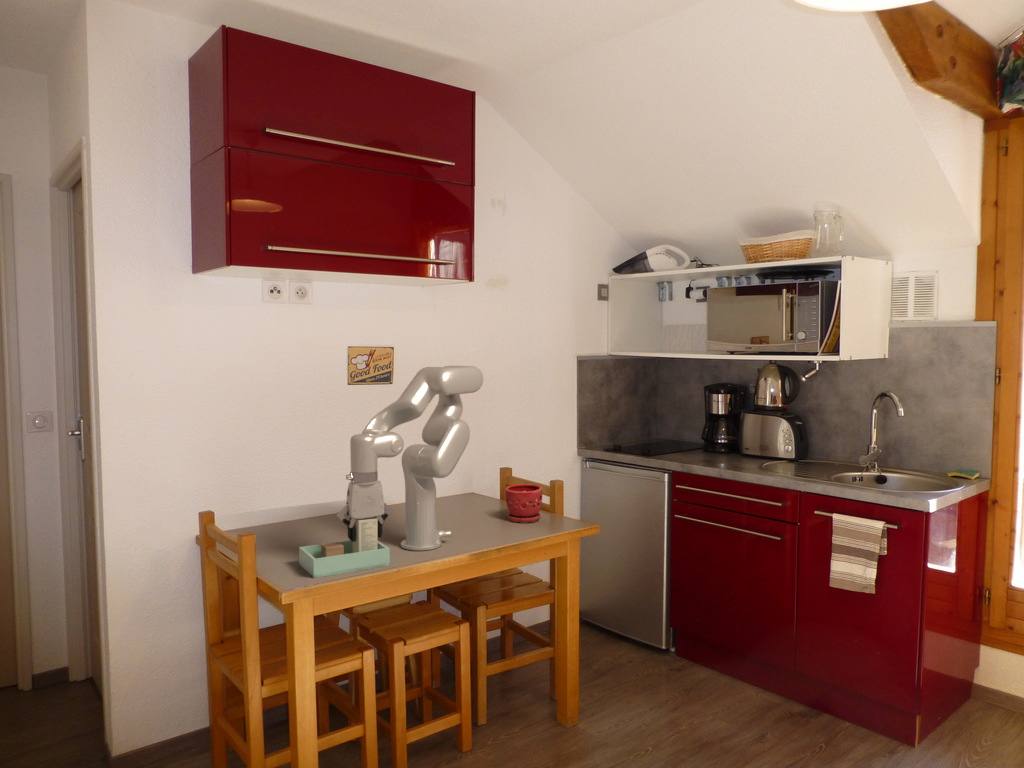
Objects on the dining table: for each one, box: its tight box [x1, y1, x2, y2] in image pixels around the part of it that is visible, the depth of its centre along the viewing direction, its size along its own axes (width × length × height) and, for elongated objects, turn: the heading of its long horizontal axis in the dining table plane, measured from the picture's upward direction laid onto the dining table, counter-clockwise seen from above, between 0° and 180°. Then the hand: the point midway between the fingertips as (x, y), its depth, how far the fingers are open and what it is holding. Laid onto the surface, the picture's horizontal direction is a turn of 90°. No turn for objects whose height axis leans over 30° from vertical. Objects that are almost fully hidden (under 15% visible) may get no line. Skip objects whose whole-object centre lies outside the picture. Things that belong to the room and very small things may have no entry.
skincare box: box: [352, 517, 379, 553], centre depth 213 cm, size 6×4×12 cm
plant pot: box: [504, 483, 543, 524], centre depth 264 cm, size 13×13×12 cm
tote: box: [298, 539, 391, 579], centre depth 211 cm, size 22×15×5 cm
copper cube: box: [320, 541, 344, 558], centre depth 211 cm, size 5×5×5 cm
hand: (365, 538), depth 214 cm, fingers open, 7 cm apart
